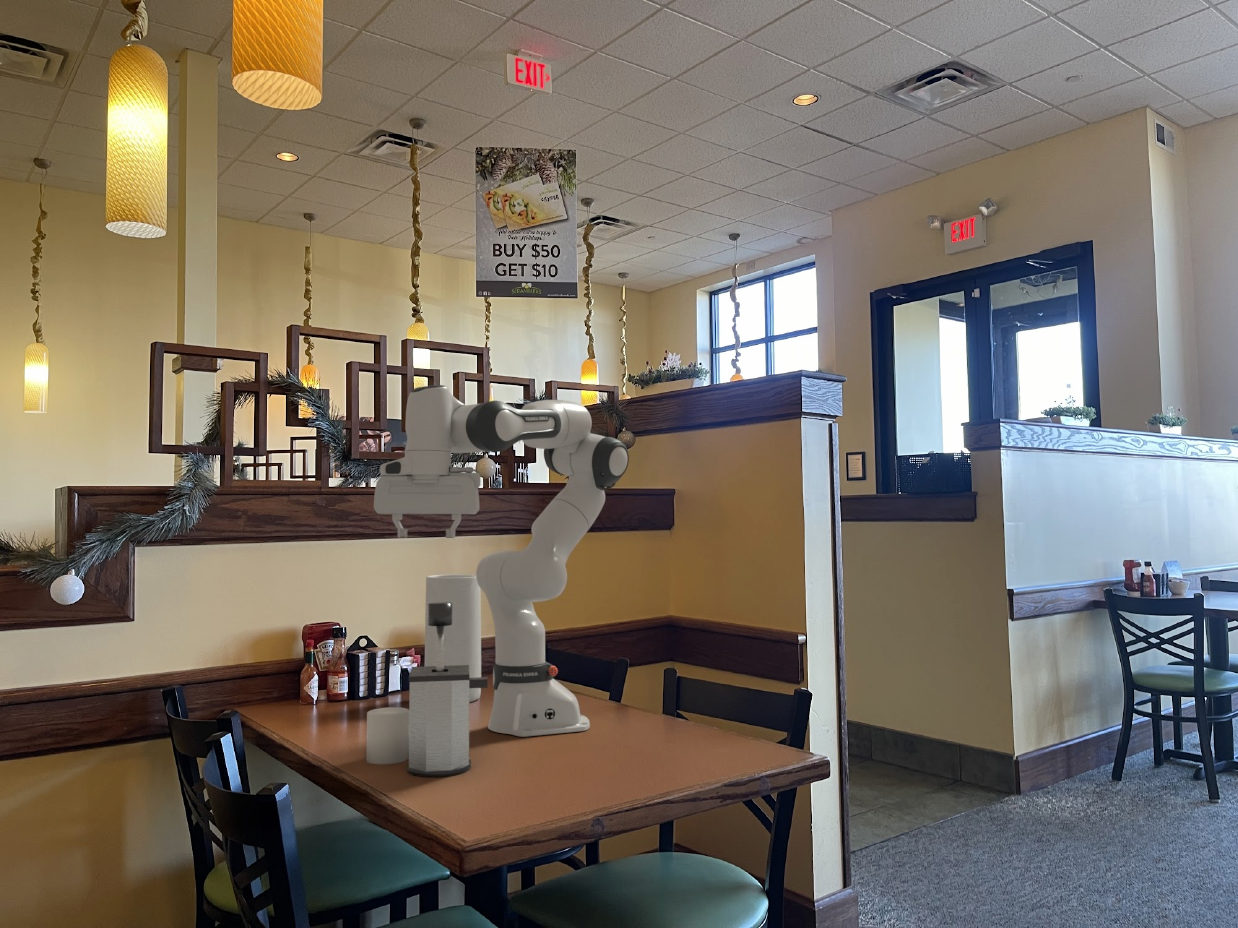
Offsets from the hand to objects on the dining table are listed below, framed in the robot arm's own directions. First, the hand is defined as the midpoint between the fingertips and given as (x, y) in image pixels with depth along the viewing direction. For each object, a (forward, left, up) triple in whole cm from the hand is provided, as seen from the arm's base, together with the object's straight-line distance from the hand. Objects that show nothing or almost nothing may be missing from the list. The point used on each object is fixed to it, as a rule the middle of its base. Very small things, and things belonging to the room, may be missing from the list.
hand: (426, 537), depth 175 cm
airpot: (-4, +6, -43) cm, 43 cm away
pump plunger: (-3, +6, -33) cm, 34 cm away
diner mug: (+7, -5, -43) cm, 44 cm away
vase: (-5, -58, -43) cm, 73 cm away
